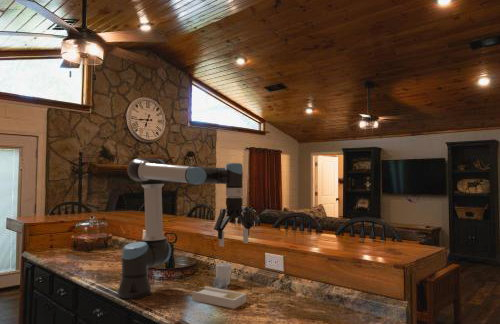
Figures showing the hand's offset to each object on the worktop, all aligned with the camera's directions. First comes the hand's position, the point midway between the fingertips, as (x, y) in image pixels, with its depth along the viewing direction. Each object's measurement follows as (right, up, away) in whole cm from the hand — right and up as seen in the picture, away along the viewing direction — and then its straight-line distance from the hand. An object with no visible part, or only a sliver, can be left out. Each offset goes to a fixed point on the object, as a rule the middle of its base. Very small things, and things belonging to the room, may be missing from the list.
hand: (233, 244), depth 169 cm
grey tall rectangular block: (-7, -26, +12) cm, 29 cm away
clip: (-7, -24, +12) cm, 28 cm away
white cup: (-7, -26, +26) cm, 37 cm away
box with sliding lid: (-7, -25, -1) cm, 26 cm away
